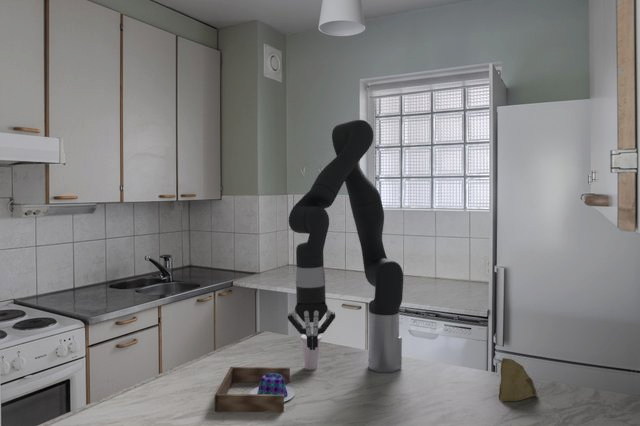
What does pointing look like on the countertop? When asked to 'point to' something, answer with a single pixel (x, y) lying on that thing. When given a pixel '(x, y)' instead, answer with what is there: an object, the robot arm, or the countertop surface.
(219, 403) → the box
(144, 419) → the countertop surface
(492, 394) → the countertop surface
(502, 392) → the rock
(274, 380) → the pudding
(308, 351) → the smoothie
